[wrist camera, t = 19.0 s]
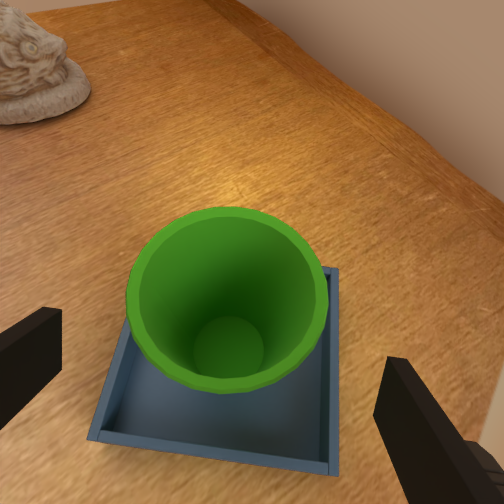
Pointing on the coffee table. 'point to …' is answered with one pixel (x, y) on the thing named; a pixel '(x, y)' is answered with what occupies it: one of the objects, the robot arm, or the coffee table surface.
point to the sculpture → (35, 71)
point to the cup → (226, 300)
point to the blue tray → (229, 409)
